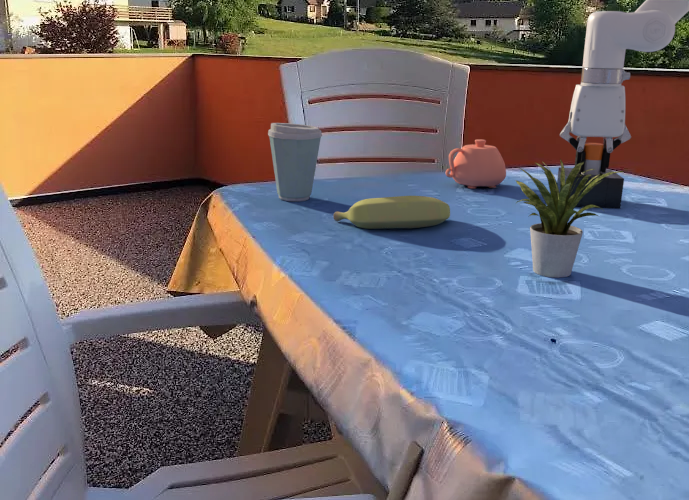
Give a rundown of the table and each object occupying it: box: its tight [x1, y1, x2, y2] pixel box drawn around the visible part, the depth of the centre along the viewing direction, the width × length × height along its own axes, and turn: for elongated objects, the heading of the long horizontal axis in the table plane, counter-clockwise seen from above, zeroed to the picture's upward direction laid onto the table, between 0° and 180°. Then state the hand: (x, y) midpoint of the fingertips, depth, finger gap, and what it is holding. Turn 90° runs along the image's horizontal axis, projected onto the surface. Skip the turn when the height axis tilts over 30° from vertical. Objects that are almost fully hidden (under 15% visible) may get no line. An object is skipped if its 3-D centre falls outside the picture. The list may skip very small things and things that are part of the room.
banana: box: [332, 195, 451, 230], centre depth 124 cm, size 14×6×20 cm
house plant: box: [514, 158, 622, 279], centre depth 98 cm, size 14×14×16 cm
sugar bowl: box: [445, 138, 507, 190], centre depth 158 cm, size 12×14×10 cm
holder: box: [556, 166, 625, 210], centre depth 144 cm, size 11×11×6 cm
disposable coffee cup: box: [267, 122, 323, 203], centre depth 141 cm, size 11×11×15 cm
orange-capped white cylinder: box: [581, 142, 604, 175], centre depth 143 cm, size 4×4×8 cm
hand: (591, 170), depth 143 cm, fingers closed on orange-capped white cylinder, 3 cm apart
